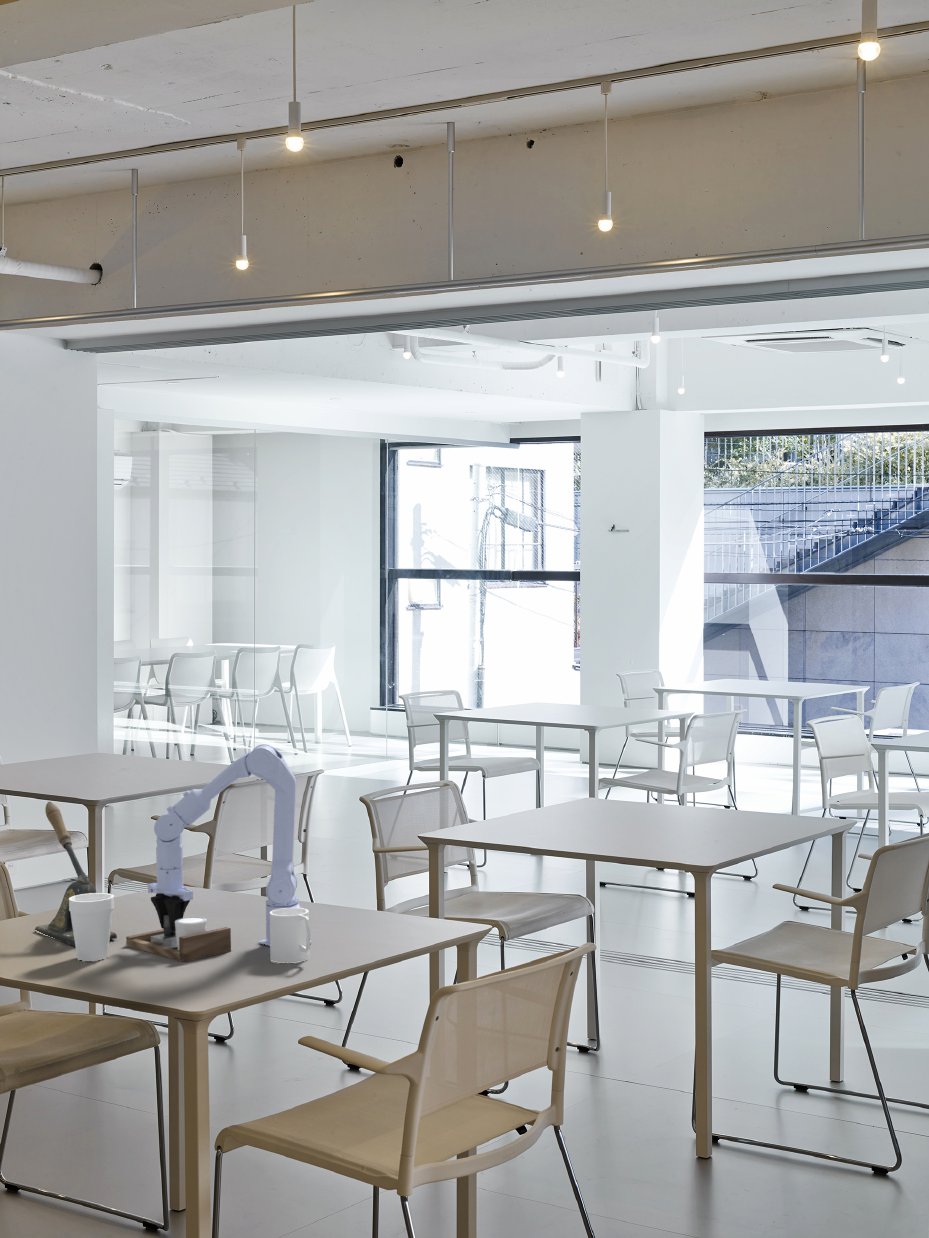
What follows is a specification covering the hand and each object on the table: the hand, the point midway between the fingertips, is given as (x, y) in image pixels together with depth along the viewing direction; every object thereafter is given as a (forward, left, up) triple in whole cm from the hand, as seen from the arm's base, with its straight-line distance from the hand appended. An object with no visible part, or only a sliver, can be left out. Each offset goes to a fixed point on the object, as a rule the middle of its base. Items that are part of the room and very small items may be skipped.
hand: (170, 928), depth 310 cm
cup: (-31, -10, -4) cm, 33 cm away
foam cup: (+4, +17, -4) cm, 18 cm away
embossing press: (+26, +9, -4) cm, 28 cm away
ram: (-1, 0, -4) cm, 4 cm away
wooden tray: (-3, 0, -4) cm, 5 cm away
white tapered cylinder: (-8, 0, -4) cm, 9 cm away
